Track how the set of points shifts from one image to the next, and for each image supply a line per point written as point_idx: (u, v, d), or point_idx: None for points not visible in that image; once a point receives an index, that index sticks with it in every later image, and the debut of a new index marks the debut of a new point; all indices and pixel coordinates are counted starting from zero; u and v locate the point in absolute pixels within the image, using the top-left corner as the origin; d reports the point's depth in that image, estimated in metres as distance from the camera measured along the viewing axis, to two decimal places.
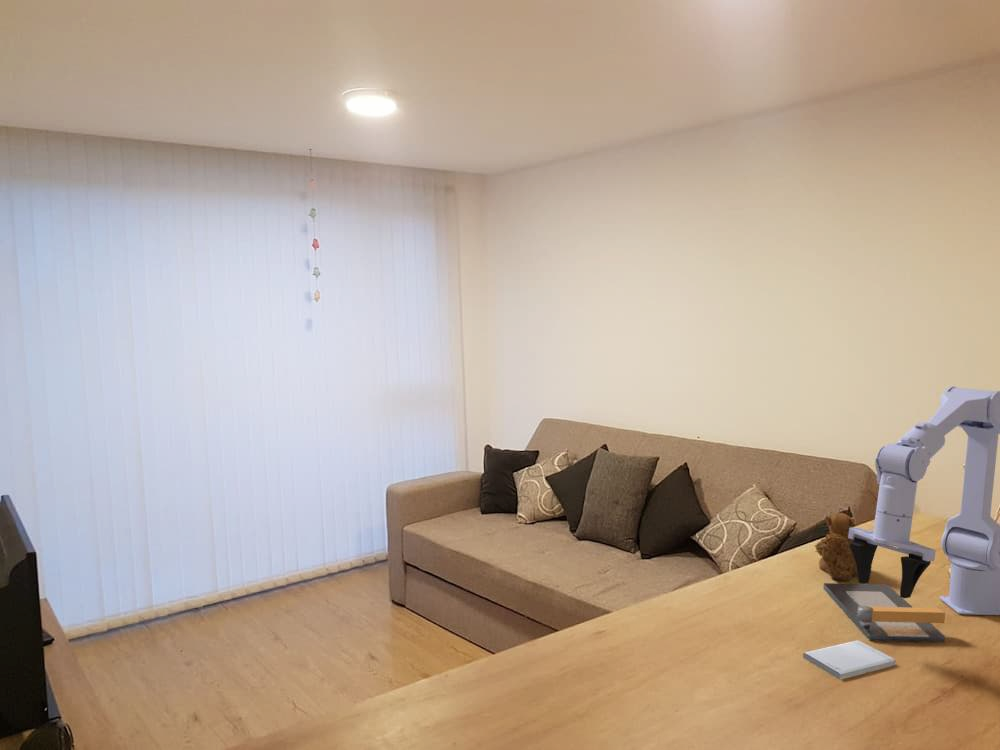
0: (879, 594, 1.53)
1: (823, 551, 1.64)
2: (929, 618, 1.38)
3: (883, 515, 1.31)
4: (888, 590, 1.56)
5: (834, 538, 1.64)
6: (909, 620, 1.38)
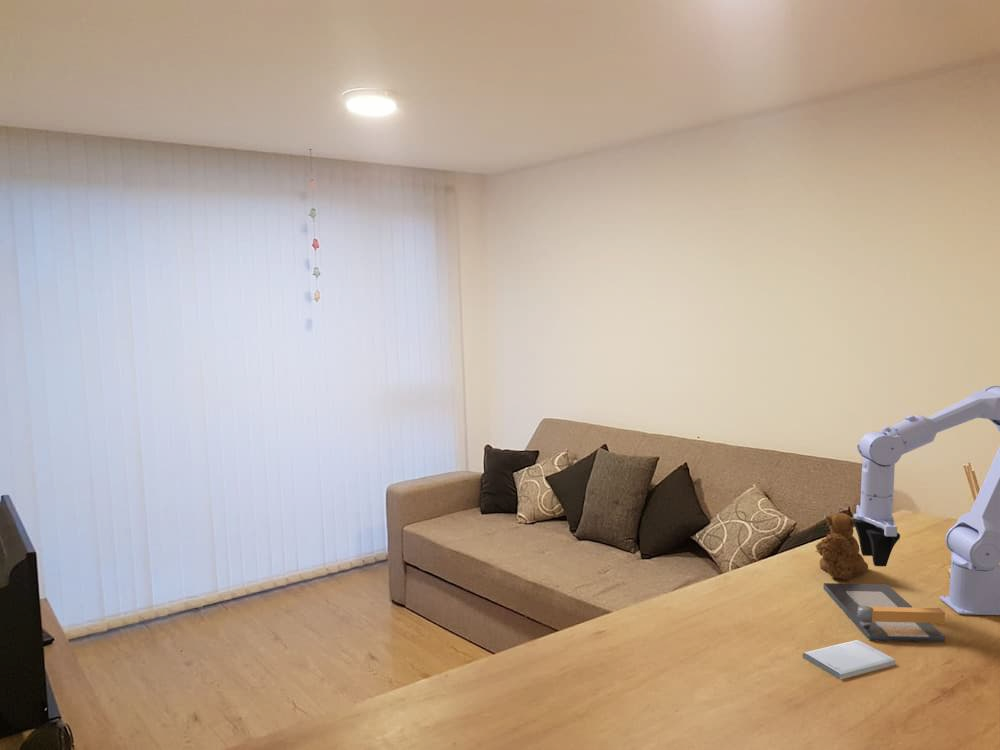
0: (879, 594, 1.53)
1: (824, 551, 1.64)
2: (929, 618, 1.38)
3: (861, 494, 1.49)
4: (888, 590, 1.56)
5: (835, 538, 1.64)
6: (909, 620, 1.38)
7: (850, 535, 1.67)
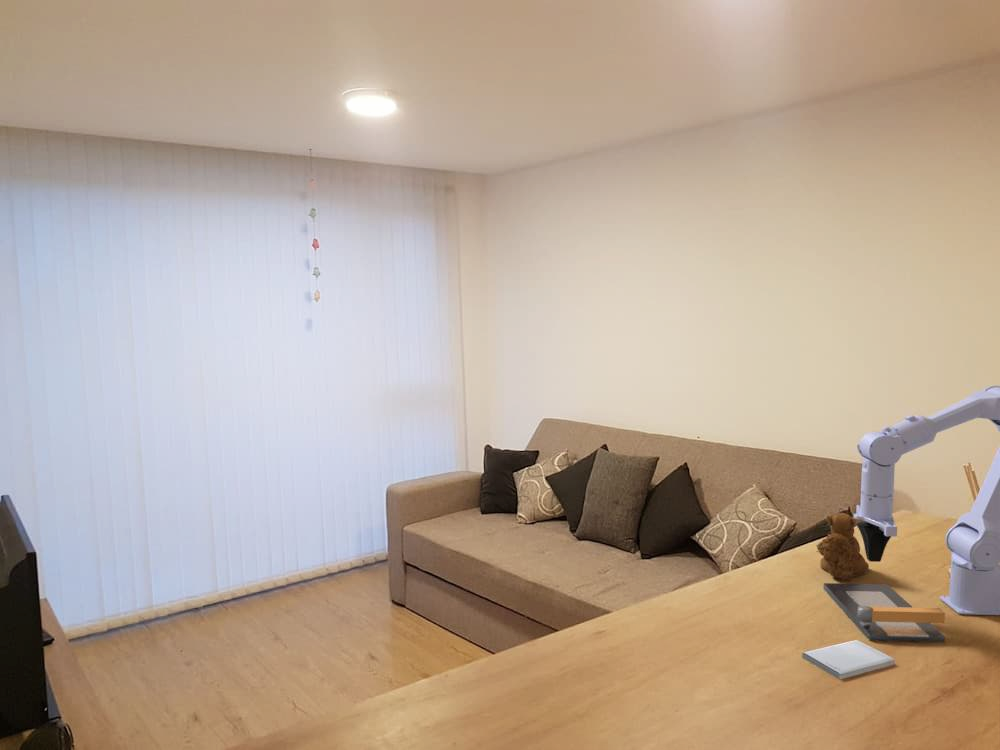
0: (879, 594, 1.53)
1: (825, 551, 1.64)
2: (929, 618, 1.38)
3: (861, 494, 1.49)
4: (888, 590, 1.56)
5: (836, 538, 1.64)
6: (909, 620, 1.38)
7: (851, 535, 1.67)
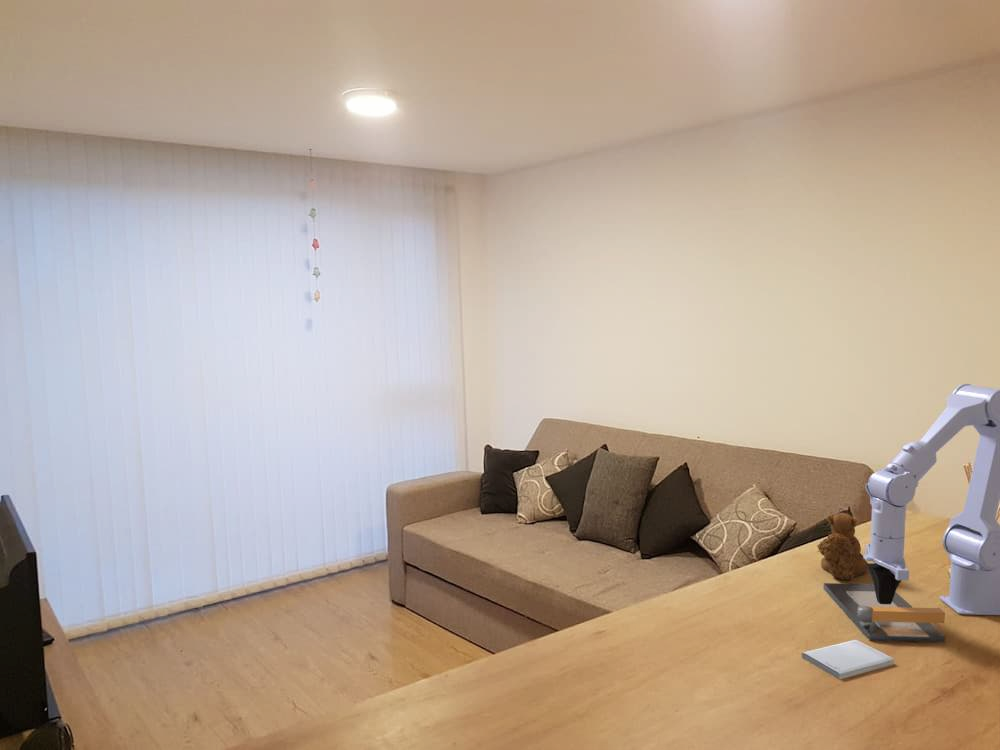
0: None
1: (825, 551, 1.64)
2: (929, 618, 1.38)
3: (871, 535, 1.44)
4: None
5: (836, 538, 1.64)
6: (909, 620, 1.38)
7: (852, 535, 1.67)
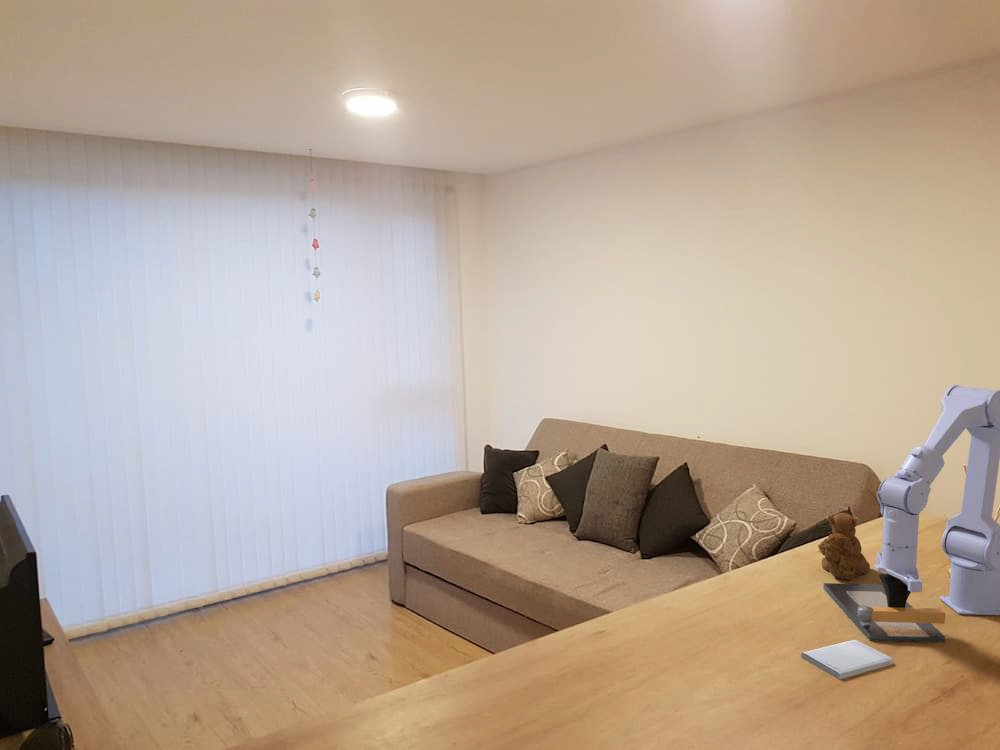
0: (879, 594, 1.53)
1: (826, 551, 1.64)
2: (929, 618, 1.37)
3: (882, 544, 1.39)
4: None
5: (837, 538, 1.64)
6: (909, 620, 1.38)
7: (852, 535, 1.67)
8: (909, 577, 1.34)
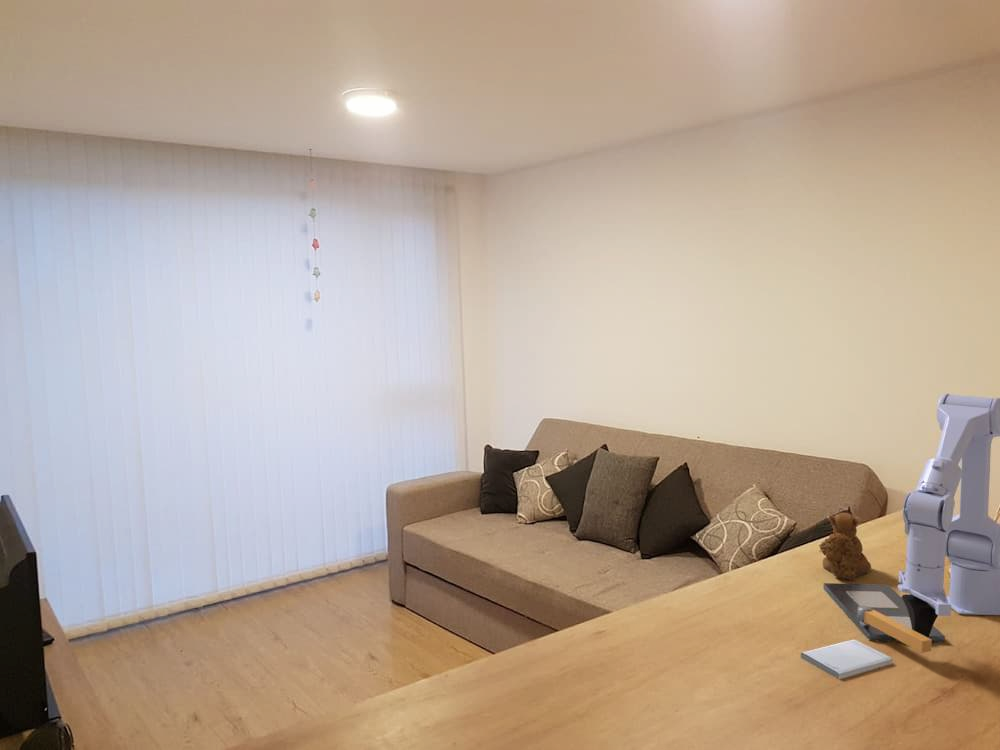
0: (879, 594, 1.53)
1: (827, 551, 1.64)
2: (909, 641, 1.29)
3: (907, 563, 1.30)
4: (888, 590, 1.56)
5: (838, 538, 1.64)
6: (892, 635, 1.32)
7: (853, 535, 1.67)
8: (936, 599, 1.25)
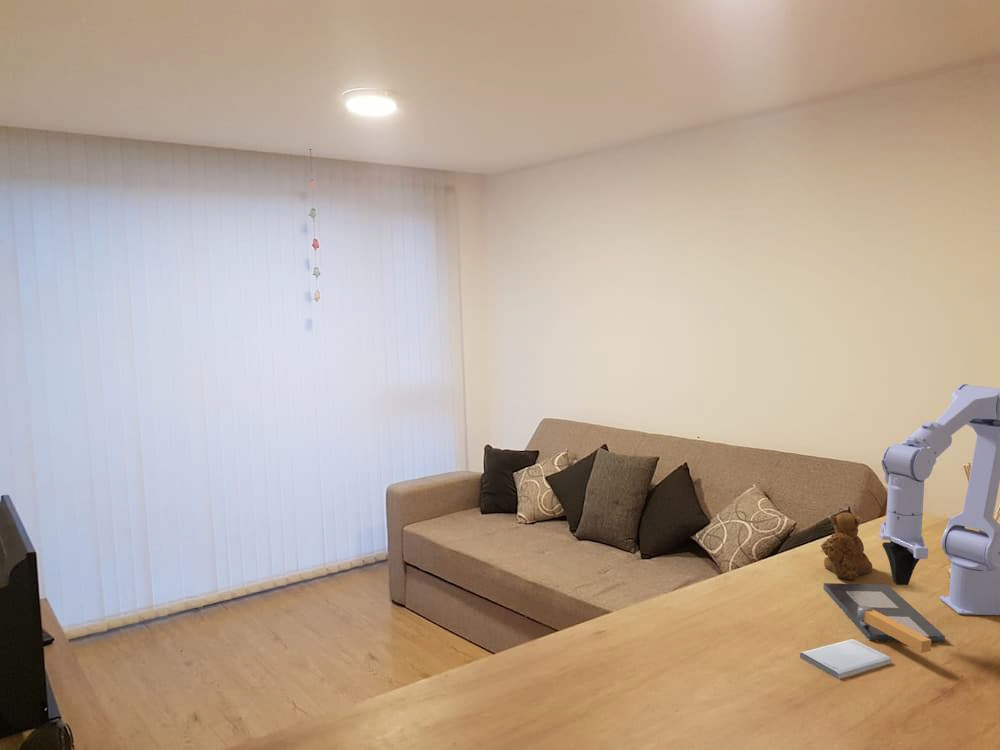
0: (879, 594, 1.53)
1: (829, 551, 1.64)
2: (908, 641, 1.29)
3: (887, 512, 1.37)
4: (888, 590, 1.56)
5: (840, 538, 1.64)
6: (892, 635, 1.32)
7: (855, 535, 1.68)
8: (914, 544, 1.32)
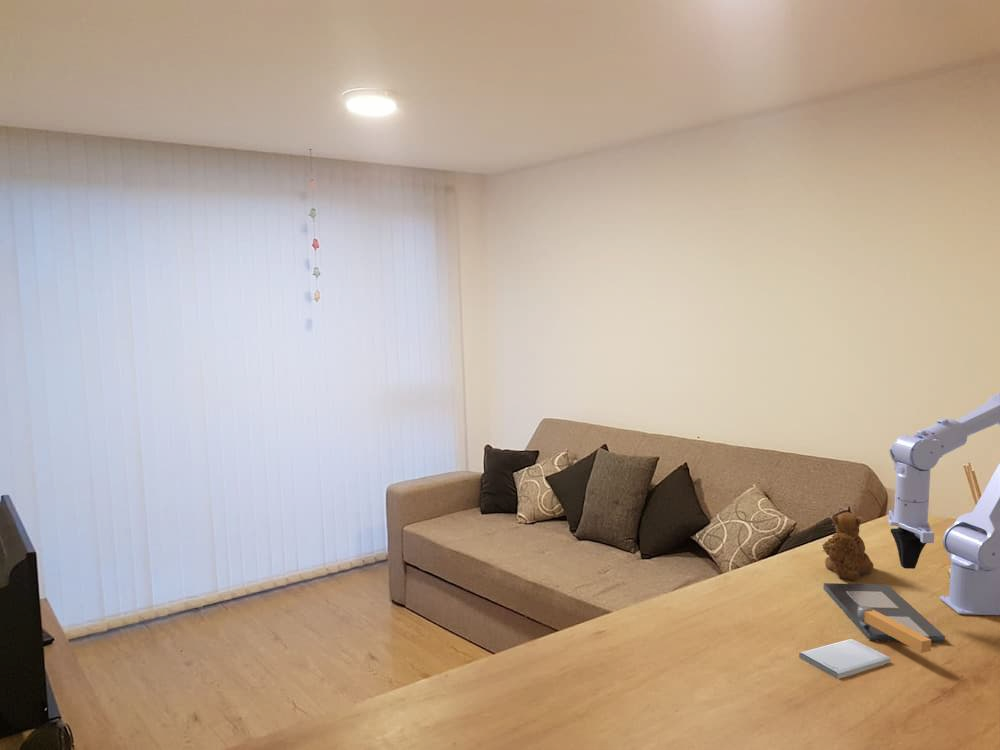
0: (879, 594, 1.53)
1: (831, 551, 1.64)
2: (908, 641, 1.29)
3: (895, 500, 1.45)
4: (888, 590, 1.56)
5: (841, 537, 1.64)
6: (892, 635, 1.32)
7: (856, 534, 1.68)
8: (921, 530, 1.40)
